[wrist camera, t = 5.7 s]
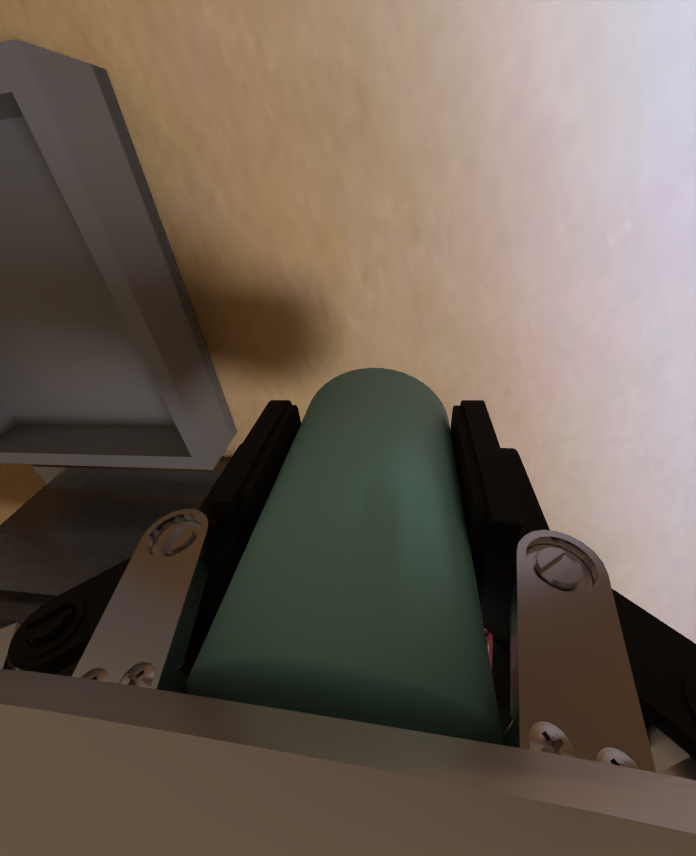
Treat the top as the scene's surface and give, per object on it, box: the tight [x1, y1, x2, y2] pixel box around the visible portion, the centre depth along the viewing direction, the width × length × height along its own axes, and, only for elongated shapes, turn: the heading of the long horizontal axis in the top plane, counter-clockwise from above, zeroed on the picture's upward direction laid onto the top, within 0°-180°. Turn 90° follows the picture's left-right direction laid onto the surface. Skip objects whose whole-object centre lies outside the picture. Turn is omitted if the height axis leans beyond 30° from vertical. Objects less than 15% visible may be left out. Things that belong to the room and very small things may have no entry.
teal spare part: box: [186, 368, 504, 745], centre depth 8 cm, size 4×4×7 cm
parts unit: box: [0, 458, 231, 629], centre depth 18 cm, size 14×8×12 cm, turn 95°
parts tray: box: [0, 39, 237, 470], centre depth 14 cm, size 14×14×3 cm
